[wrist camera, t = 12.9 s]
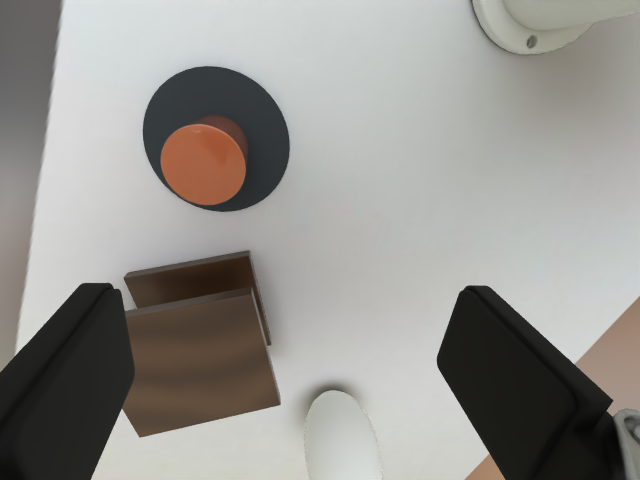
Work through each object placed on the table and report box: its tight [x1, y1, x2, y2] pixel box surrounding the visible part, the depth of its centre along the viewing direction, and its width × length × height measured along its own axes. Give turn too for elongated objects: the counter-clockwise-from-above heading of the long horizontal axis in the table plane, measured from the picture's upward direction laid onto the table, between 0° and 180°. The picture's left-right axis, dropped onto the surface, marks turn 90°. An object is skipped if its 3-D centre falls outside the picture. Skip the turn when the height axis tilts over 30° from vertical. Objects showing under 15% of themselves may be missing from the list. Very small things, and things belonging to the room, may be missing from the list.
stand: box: [122, 251, 281, 437], centre depth 29 cm, size 12×12×8 cm
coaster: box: [143, 66, 290, 212], centre depth 26 cm, size 11×11×1 cm
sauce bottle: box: [304, 390, 383, 480], centre depth 33 cm, size 8×8×18 cm
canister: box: [161, 114, 249, 205], centre depth 22 cm, size 5×5×7 cm
